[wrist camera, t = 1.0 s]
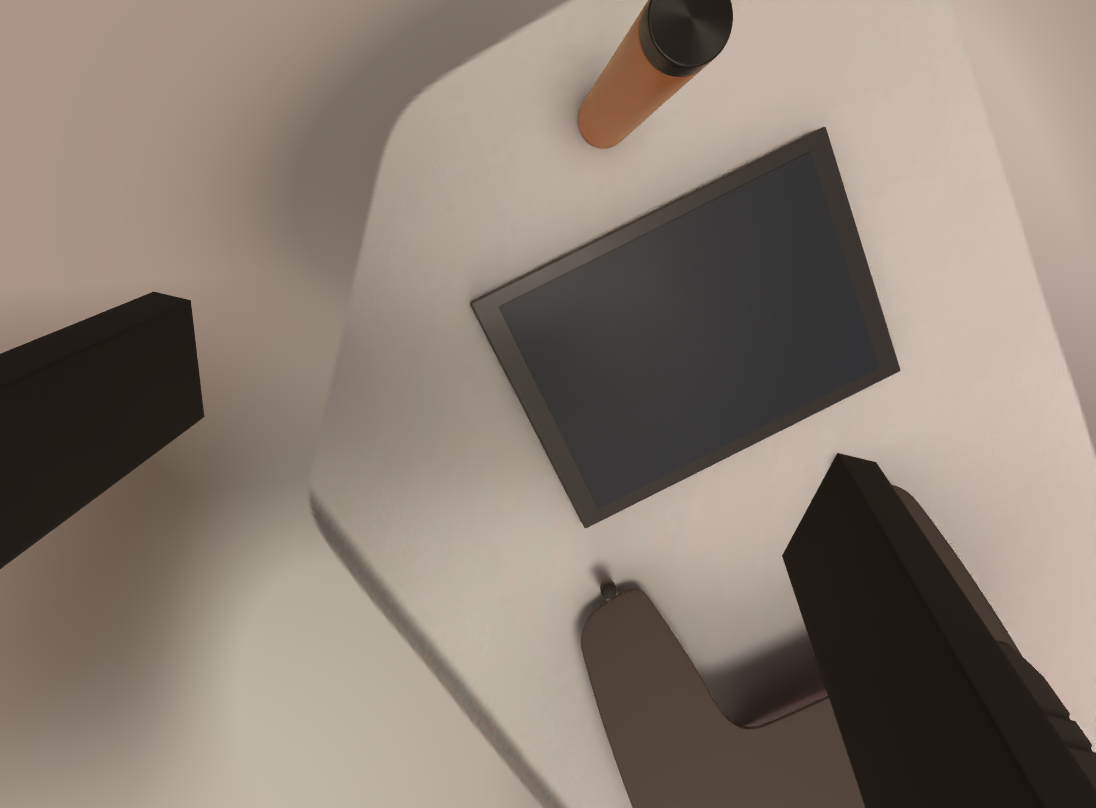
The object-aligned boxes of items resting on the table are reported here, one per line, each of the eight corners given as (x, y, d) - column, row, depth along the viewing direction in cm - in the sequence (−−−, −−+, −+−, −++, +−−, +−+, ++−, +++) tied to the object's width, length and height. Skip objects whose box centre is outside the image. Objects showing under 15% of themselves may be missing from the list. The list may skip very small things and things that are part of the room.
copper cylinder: (569, 105, 28) (634, -10, 16) (616, 82, 28) (714, -50, 16) (590, 157, 29) (668, 82, 17) (637, 134, 29) (745, 43, 17)
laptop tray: (847, 457, 41) (920, 441, 32) (1032, 788, 36) (1178, 878, 27) (553, 590, 41) (544, 611, 32) (702, 941, 36) (740, 1084, 27)
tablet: (469, 301, 30) (469, 303, 29) (814, 130, 30) (827, 125, 29) (582, 521, 33) (585, 530, 32) (889, 368, 33) (902, 371, 32)
